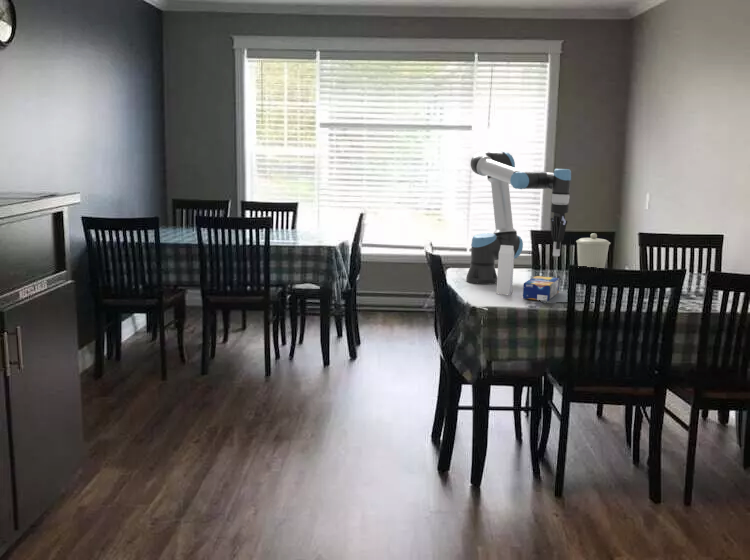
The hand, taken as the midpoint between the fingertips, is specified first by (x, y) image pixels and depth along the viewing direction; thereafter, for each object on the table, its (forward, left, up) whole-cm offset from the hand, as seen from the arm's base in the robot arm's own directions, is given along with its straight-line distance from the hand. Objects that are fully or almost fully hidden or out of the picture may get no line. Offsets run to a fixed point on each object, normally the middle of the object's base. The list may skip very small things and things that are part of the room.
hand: (556, 255), depth 334 cm
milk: (-23, +2, -18) cm, 29 cm away
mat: (0, -8, -18) cm, 19 cm away
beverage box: (-2, +3, -14) cm, 14 cm away
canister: (+48, +62, -18) cm, 80 cm away
